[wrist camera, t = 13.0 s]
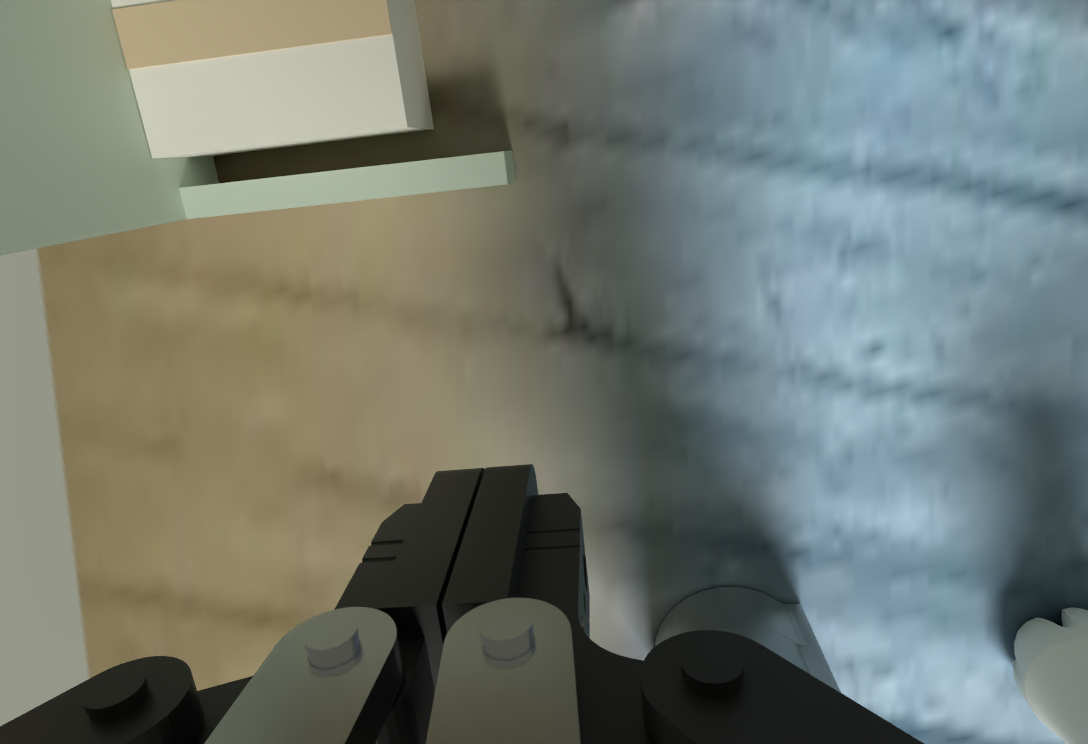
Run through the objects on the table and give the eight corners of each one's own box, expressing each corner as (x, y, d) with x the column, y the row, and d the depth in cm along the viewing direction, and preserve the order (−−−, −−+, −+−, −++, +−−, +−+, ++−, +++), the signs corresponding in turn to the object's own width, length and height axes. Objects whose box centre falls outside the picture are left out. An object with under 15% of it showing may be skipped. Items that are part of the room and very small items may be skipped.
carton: (402, -89, 35) (365, -135, 29) (434, 129, 38) (406, 127, 32) (166, -54, 36) (84, -91, 30) (216, 155, 39) (151, 158, 33)
